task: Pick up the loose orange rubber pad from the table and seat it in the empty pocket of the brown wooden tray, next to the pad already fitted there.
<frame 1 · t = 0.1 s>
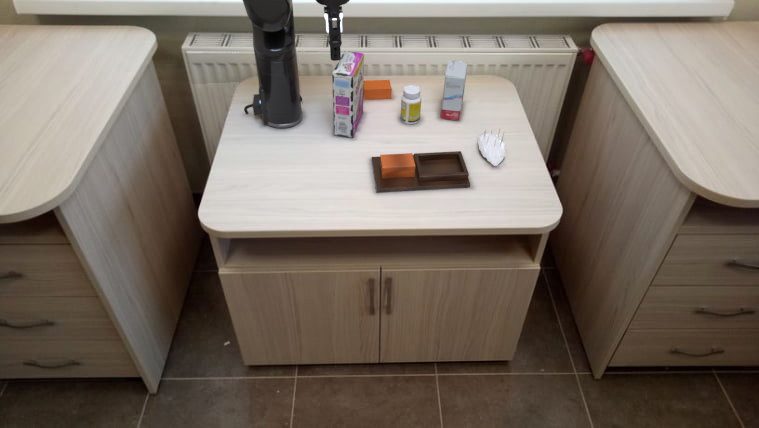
hand: (334, 50, 122), 17 cm above the table, tool pointing down, fingers open, 8 cm apart
candy bar box: (349, 125, 132), on the table
loose pad: (376, 94, 142), on the table
ink box: (451, 111, 137), on the table
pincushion: (490, 151, 125), on the table
brown wooden tray: (419, 173, 118), on the table
supplement bottle: (410, 120, 134), on the table
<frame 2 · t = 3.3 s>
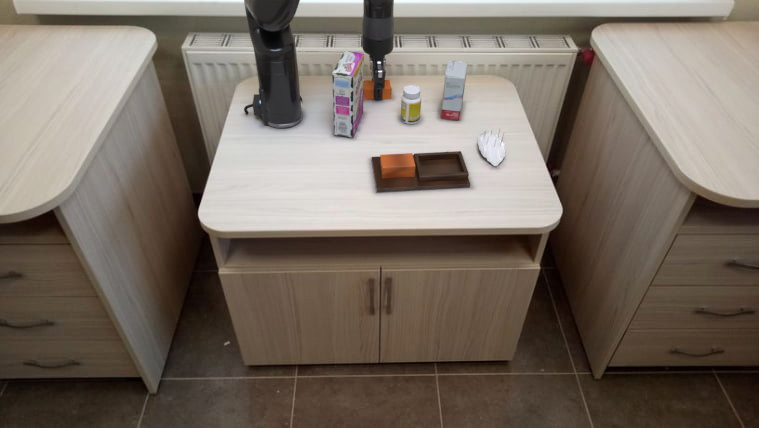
hand: (376, 93, 141), 0 cm above the table, tool pointing down, fingers closed on loose pad, 4 cm apart
loose pad: (376, 94, 142), on the table, touching gripper
everything else where it was.
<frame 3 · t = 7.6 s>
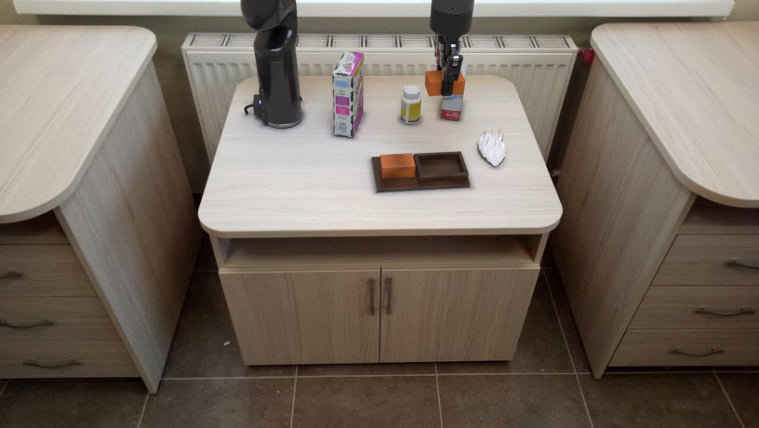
hand: (443, 88, 107), 19 cm above the table, tool pointing down, fingers closed on loose pad, 4 cm apart
loose pad: (443, 89, 108), point 19 cm above the table, touching gripper
everything else where it was.
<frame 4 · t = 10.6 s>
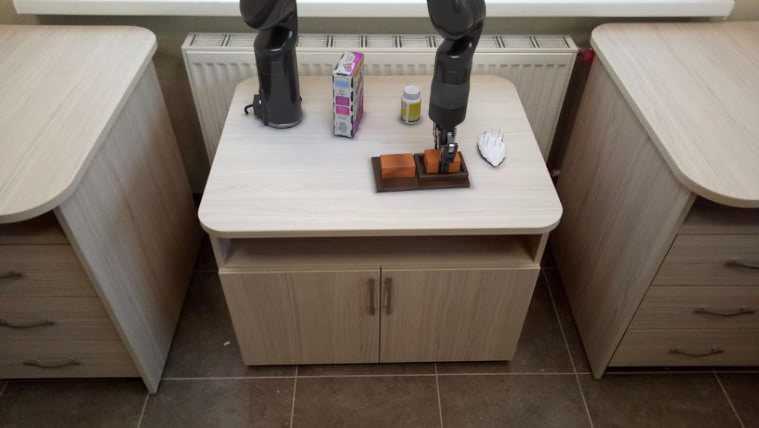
hand: (440, 164, 117), 2 cm above the table, tool pointing down, fingers closed on loose pad, 4 cm apart
loose pad: (441, 166, 118), point 2 cm above the table, touching gripper
everything else where it was.
when the fingers open (2 cm above the table, at t = 12.8 s): loose pad stays where it is, resting on brown wooden tray.
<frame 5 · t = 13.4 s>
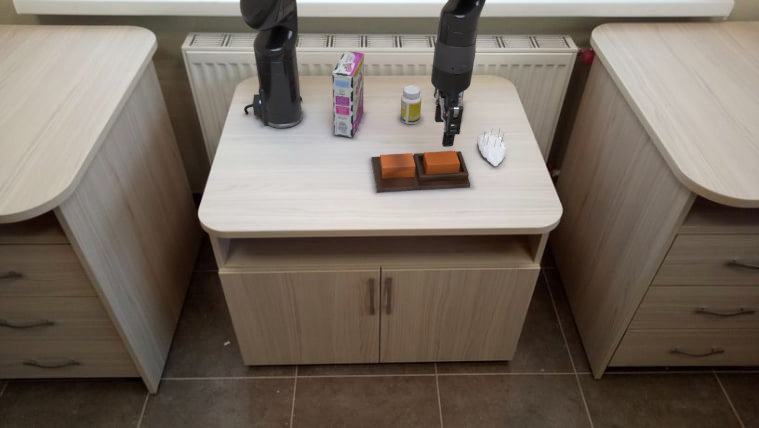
hand: (443, 133, 112), 10 cm above the table, tool pointing down, fingers open, 8 cm apart
loose pad: (440, 168, 118), point 1 cm above the table, touching brown wooden tray
everything else where it was.
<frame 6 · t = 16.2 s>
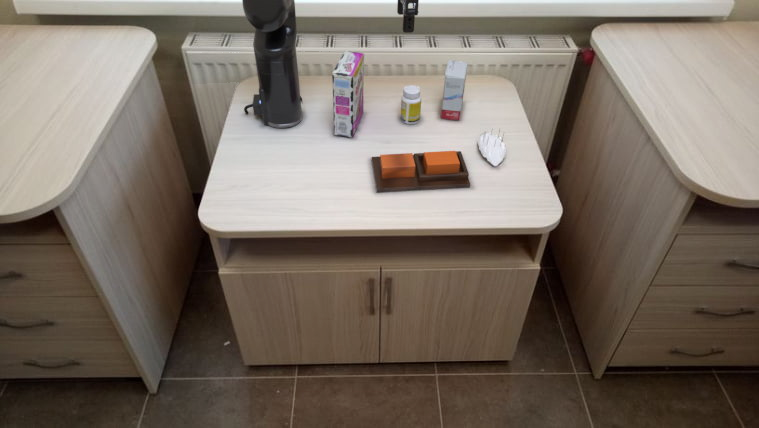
hand: (405, 22, 113), 26 cm above the table, tool pointing down, fingers open, 8 cm apart
nothing on the table moved.
at the end: loose pad 0.1 cm from the target spot on the brown wooden tray, point 1.0 cm above the brown wooden tray's base; loose pad tilted 0°; the gripper is holding nothing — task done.
